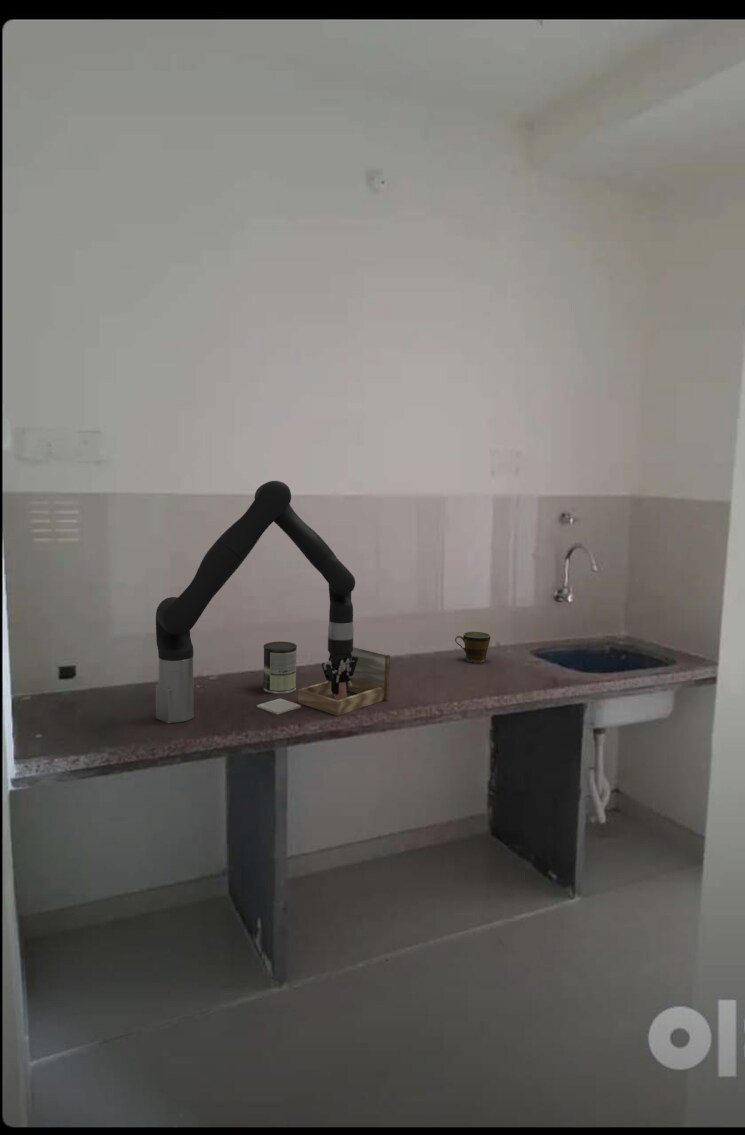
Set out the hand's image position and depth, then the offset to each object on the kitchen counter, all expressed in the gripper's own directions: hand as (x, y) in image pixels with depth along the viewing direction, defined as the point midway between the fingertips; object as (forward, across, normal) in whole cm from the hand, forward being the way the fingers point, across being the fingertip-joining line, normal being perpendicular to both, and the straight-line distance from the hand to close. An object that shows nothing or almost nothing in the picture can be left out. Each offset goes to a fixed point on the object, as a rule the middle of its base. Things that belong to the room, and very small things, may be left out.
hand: (339, 692), depth 220 cm
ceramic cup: (+3, +70, -1) cm, 70 cm away
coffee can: (+3, -4, +22) cm, 23 cm away
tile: (+3, -16, +9) cm, 19 cm away
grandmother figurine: (+3, 0, 0) cm, 3 cm away
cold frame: (+3, +1, 0) cm, 3 cm away
